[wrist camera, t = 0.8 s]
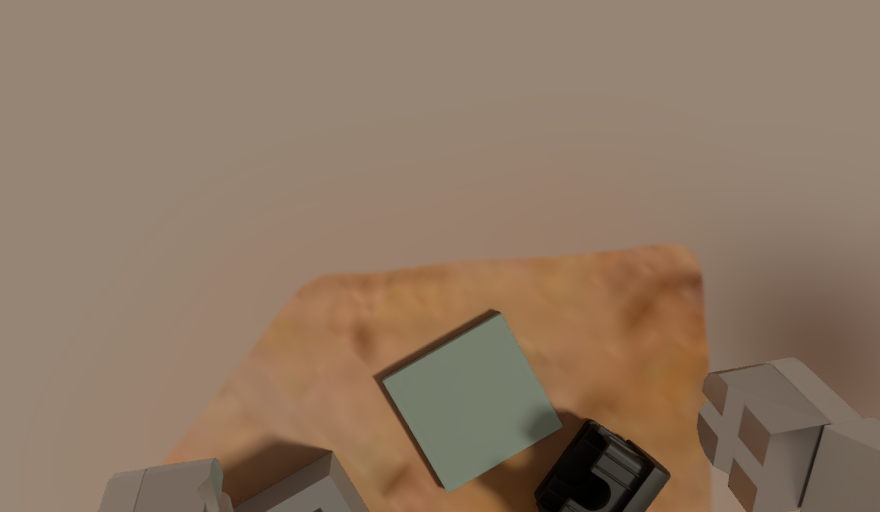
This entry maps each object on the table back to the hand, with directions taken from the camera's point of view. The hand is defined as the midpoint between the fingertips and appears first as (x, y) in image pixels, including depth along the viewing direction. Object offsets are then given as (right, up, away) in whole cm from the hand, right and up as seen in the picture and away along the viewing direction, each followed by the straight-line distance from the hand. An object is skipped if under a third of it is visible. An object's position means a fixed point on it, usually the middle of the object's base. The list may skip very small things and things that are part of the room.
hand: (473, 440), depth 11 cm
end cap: (+13, -18, +52) cm, 56 cm away
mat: (+2, -10, +49) cm, 50 cm away
